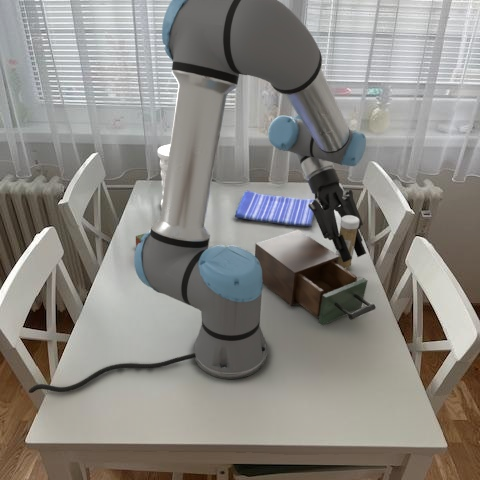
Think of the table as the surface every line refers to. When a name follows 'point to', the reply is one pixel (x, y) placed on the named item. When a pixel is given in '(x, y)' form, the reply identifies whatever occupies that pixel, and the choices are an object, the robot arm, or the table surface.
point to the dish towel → (275, 209)
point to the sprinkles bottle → (348, 236)
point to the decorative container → (163, 163)
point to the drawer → (332, 293)
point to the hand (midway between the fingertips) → (354, 257)
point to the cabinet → (290, 261)
